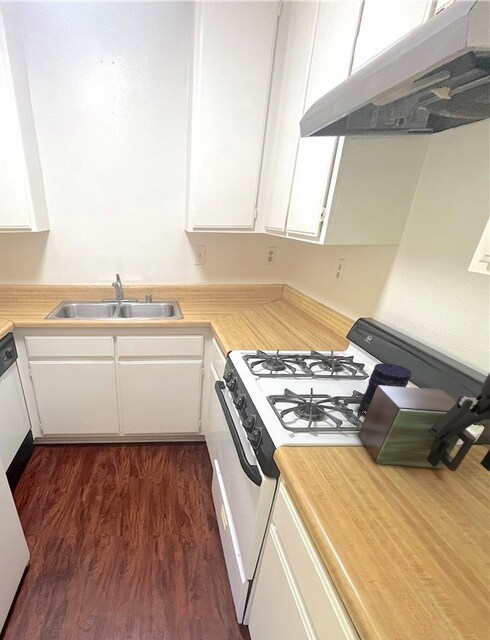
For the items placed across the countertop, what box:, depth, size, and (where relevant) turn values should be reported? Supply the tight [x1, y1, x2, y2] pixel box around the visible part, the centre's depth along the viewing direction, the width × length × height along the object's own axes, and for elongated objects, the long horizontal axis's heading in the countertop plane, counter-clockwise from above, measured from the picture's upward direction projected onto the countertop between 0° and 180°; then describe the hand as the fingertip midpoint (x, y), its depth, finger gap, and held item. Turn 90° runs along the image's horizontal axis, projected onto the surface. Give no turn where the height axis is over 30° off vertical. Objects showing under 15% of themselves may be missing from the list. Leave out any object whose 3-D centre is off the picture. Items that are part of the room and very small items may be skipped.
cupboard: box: [357, 385, 457, 462], centre depth 89 cm, size 12×16×16 cm
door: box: [374, 409, 477, 472], centre depth 81 cm, size 7×16×16 cm, turn 84°
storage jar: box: [357, 362, 413, 418], centre depth 106 cm, size 10×10×15 cm
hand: (458, 465), depth 79 cm, fingers open, 11 cm apart
